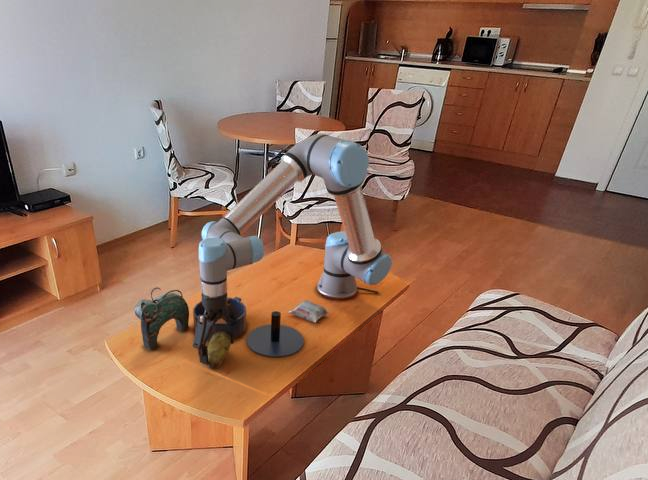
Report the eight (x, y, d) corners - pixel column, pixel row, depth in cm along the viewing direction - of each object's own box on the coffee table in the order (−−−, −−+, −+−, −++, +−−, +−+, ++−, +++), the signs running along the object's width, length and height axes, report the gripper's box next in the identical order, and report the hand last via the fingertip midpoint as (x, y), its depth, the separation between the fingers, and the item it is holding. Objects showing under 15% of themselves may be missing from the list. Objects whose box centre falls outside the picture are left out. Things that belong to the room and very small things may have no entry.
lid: (313, 337, 169) (316, 309, 162) (285, 366, 156) (287, 336, 149) (265, 321, 177) (266, 293, 171) (235, 347, 165) (234, 318, 158)
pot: (259, 319, 179) (260, 302, 175) (222, 351, 163) (221, 333, 159) (218, 305, 187) (218, 289, 183) (179, 334, 171) (177, 317, 167)
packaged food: (315, 328, 174) (316, 315, 171) (287, 316, 180) (288, 304, 177) (328, 318, 179) (330, 306, 176) (301, 307, 185) (302, 295, 182)
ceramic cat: (148, 354, 162) (140, 300, 150) (136, 346, 166) (127, 293, 154) (193, 329, 174) (189, 277, 162) (181, 322, 177) (176, 271, 166)
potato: (194, 365, 156) (193, 344, 151) (218, 346, 164) (217, 325, 160) (216, 374, 152) (215, 353, 147) (239, 353, 161) (239, 333, 156)
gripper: (228, 272, 154) (229, 330, 167) (176, 306, 137) (182, 368, 150) (248, 278, 151) (248, 337, 163) (198, 314, 134) (202, 376, 147)
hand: (217, 352), depth 157 cm, fingers closed on potato, 13 cm apart
